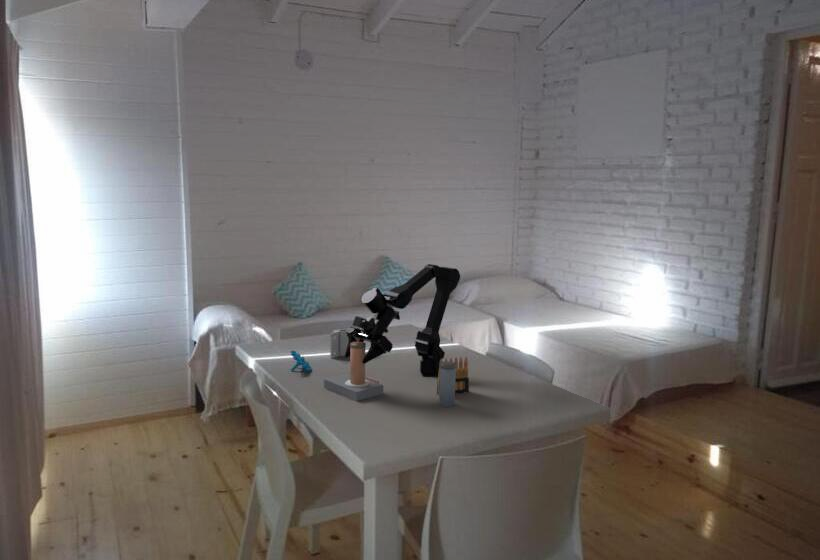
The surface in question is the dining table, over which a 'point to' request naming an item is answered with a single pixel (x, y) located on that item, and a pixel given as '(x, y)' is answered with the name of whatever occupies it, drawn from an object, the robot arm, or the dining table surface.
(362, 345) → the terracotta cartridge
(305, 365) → the gear
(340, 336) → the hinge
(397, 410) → the dining table surface
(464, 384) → the ammunition clip
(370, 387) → the dock unit
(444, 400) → the cylinder
